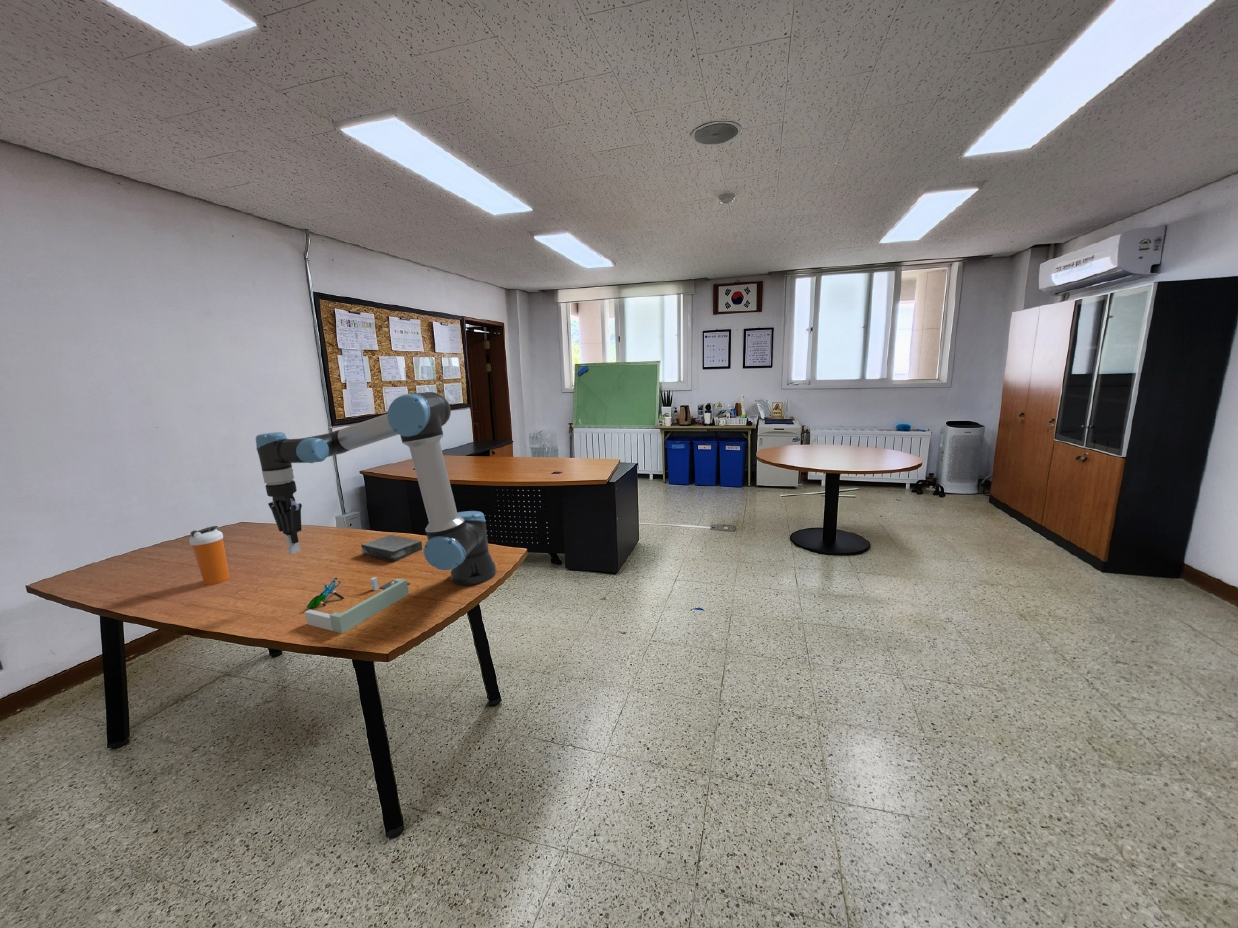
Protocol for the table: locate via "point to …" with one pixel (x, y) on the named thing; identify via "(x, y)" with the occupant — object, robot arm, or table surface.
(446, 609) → the table surface
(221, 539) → the shaker bottle
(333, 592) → the stick construction toy
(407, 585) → the trap mat
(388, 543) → the stone block
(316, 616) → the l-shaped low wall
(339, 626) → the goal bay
